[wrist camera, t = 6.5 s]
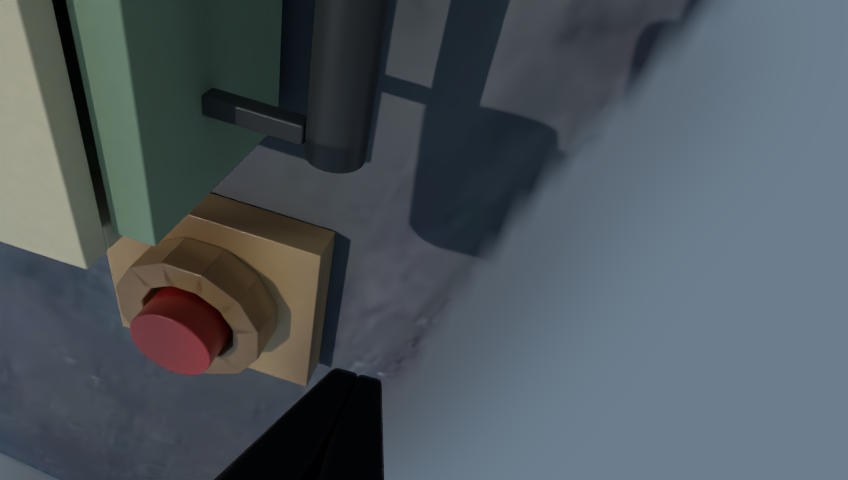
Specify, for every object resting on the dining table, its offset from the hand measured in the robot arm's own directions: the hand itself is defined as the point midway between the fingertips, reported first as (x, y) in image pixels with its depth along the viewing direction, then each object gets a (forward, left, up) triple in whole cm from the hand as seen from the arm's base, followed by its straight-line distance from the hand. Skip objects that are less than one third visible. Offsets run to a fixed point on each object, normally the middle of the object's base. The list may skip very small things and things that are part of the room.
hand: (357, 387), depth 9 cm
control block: (+9, +12, -12) cm, 19 cm away
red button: (+9, +12, -9) cm, 17 cm away
